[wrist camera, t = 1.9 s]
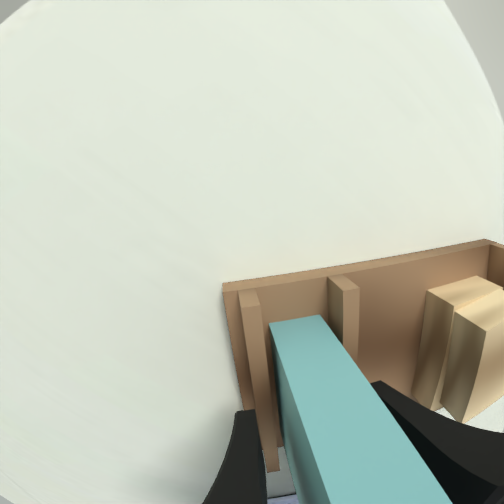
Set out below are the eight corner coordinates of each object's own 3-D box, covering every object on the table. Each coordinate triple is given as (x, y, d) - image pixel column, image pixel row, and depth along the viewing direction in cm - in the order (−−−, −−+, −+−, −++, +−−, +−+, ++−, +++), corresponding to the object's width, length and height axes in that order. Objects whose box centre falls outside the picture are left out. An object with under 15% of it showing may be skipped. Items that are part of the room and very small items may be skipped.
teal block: (320, 420, 13) (384, 575, 4) (279, 429, 12) (324, 594, 4) (319, 314, 11) (457, 511, 2) (268, 323, 11) (350, 560, 2)
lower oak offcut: (457, 371, 13) (477, 388, 11) (410, 392, 13) (428, 413, 11) (476, 275, 12) (503, 287, 10) (426, 289, 11) (454, 306, 10)
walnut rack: (461, 373, 15) (484, 393, 12) (250, 438, 14) (256, 474, 11) (484, 238, 12) (517, 248, 10) (222, 283, 12) (223, 310, 9)
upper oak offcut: (482, 376, 11) (504, 394, 9) (439, 402, 11) (460, 425, 9) (499, 288, 10) (529, 303, 8) (454, 311, 10) (486, 331, 8)
